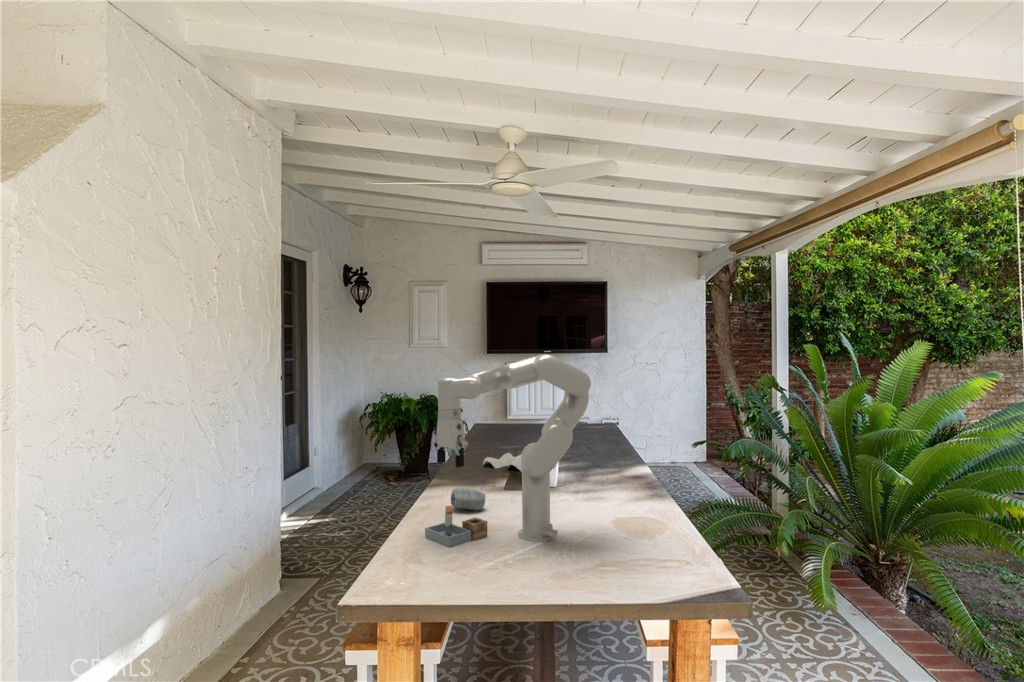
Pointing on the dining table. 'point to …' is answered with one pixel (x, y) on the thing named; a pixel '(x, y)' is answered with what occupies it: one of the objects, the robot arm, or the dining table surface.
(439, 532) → the tray
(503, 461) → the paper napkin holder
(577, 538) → the dining table surface
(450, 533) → the lock pin
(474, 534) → the brown wooden socket block
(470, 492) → the spool
